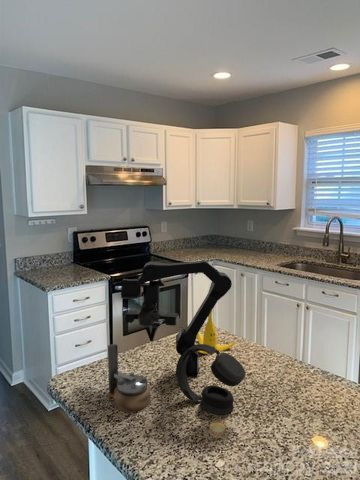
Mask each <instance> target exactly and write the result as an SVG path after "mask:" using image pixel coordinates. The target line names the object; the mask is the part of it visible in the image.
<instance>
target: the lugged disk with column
mask: <svg viewBox="0 0 360 480" xmlns="http://www.w3.org/2000/svg"><path fill="white" fill-rule="evenodd" d="M118 349H119V348H118V344H117V343H111V344H108V345H107V362H108V363H107V365H108V366H107V367H108V369H107V370H108V393H109V392H110V393H114V390H115V388H116V386H118V392H119V393H120V394H122V395H125V396H136V395H140V394H142V393H144V392H145V391H146V390H147V384H148V380H147V376H142V375H137V374H135V372H134V371H133V372H131V371H130V372H129V373H128V374H126V373H124V372H121V371H119V359H118V358H119V357H118V355H119V354H118V353H119V352H118Z"/></svg>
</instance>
